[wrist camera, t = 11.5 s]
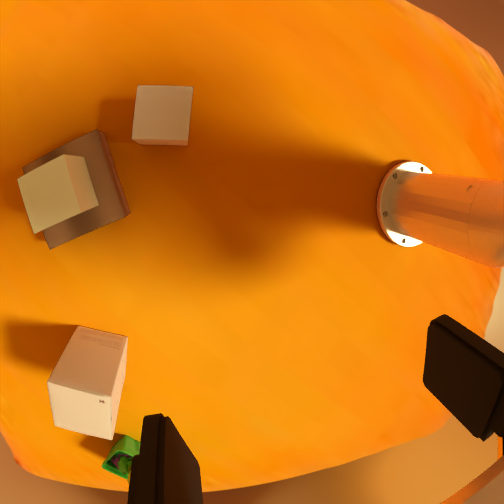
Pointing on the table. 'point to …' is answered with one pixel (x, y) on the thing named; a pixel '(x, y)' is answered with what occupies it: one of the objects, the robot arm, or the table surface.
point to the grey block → (162, 115)
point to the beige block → (57, 191)
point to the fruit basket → (122, 457)
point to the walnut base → (103, 184)
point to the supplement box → (89, 382)
